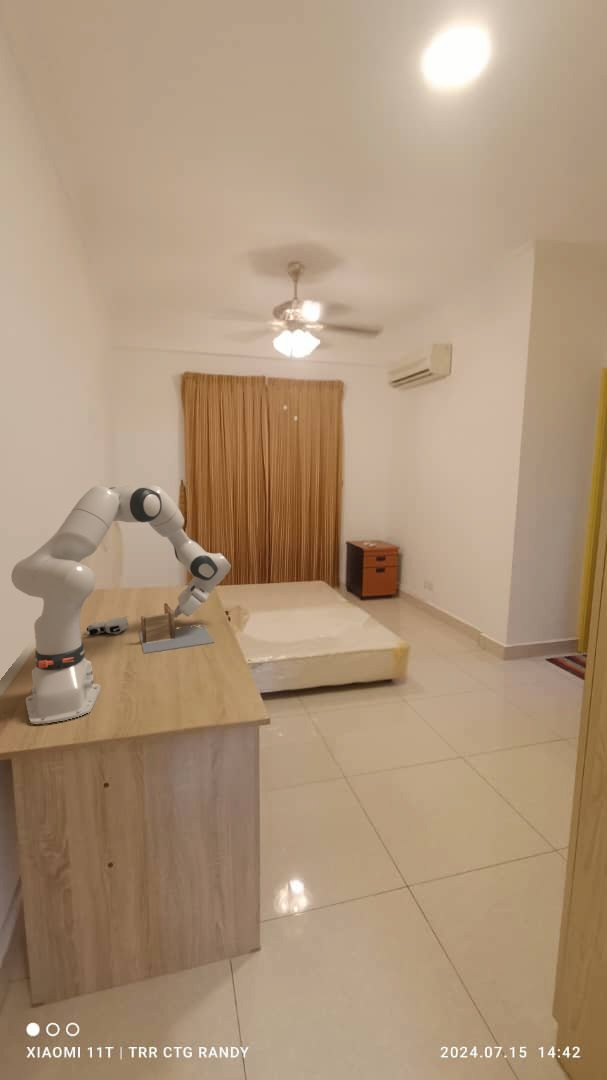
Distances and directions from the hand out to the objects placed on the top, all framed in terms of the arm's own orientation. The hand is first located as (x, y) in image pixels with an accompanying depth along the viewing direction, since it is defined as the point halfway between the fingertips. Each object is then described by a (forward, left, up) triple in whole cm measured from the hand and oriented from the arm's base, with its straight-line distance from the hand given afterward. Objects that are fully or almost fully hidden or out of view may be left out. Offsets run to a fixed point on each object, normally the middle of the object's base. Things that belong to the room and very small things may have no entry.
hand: (173, 616), depth 183 cm
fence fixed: (-9, +7, -6) cm, 13 cm away
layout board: (-8, +1, -6) cm, 10 cm away
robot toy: (+9, +24, -6) cm, 26 cm away
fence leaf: (-2, +2, -5) cm, 6 cm away
